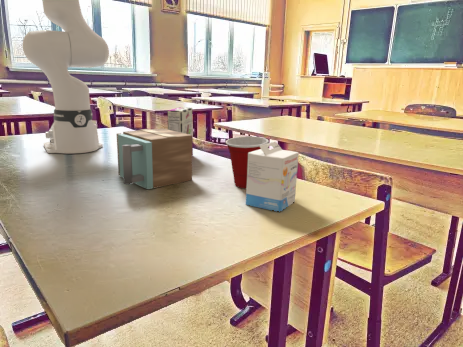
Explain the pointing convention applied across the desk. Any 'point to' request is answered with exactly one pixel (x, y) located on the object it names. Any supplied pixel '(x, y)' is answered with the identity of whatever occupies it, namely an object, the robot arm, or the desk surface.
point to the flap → (135, 160)
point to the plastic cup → (242, 156)
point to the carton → (168, 155)
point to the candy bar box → (181, 121)
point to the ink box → (271, 177)
